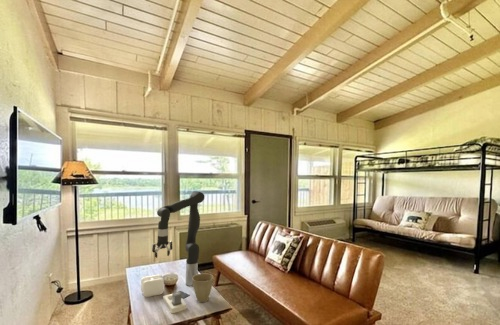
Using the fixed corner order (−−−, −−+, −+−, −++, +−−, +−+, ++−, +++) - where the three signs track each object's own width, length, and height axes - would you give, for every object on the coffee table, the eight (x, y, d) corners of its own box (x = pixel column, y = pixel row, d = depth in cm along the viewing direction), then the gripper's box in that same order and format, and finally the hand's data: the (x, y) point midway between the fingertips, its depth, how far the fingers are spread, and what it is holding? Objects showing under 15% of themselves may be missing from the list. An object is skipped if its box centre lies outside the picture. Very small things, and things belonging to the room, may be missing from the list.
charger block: (178, 304, 175) (179, 291, 175) (180, 307, 171) (181, 293, 171) (172, 306, 172) (172, 292, 173) (174, 309, 169) (174, 295, 169)
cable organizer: (141, 298, 183) (142, 282, 183) (140, 292, 192) (141, 276, 193) (163, 294, 190) (164, 278, 190) (161, 288, 199) (161, 273, 200)
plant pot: (212, 294, 191) (213, 272, 192) (213, 304, 177) (213, 281, 177) (192, 295, 189) (192, 273, 189) (191, 305, 174) (191, 282, 175)
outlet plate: (176, 296, 186) (177, 292, 187) (186, 309, 170) (186, 304, 170) (163, 300, 181) (163, 296, 181) (171, 313, 164) (171, 308, 164)
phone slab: (180, 291, 195) (180, 290, 195) (189, 296, 189) (189, 294, 189) (173, 294, 190) (173, 293, 190) (183, 299, 184) (183, 297, 184)
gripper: (170, 232, 198) (170, 253, 197) (151, 234, 190) (151, 256, 189) (173, 234, 191) (173, 256, 191) (154, 237, 183) (153, 259, 183)
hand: (162, 256), depth 190 cm, fingers open, 8 cm apart
